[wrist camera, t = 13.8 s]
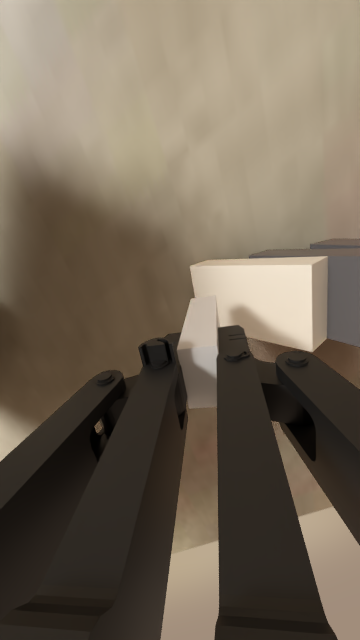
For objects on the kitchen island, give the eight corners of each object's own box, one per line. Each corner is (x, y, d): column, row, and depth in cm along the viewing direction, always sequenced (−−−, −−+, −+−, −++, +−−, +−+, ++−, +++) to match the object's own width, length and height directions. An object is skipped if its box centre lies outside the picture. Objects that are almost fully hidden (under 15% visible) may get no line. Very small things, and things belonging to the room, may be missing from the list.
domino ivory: (199, 326, 22) (312, 352, 15) (189, 265, 20) (311, 264, 13) (215, 317, 23) (326, 338, 16) (207, 260, 21) (328, 256, 14)
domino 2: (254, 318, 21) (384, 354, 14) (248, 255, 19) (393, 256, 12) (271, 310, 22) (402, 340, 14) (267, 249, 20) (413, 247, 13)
